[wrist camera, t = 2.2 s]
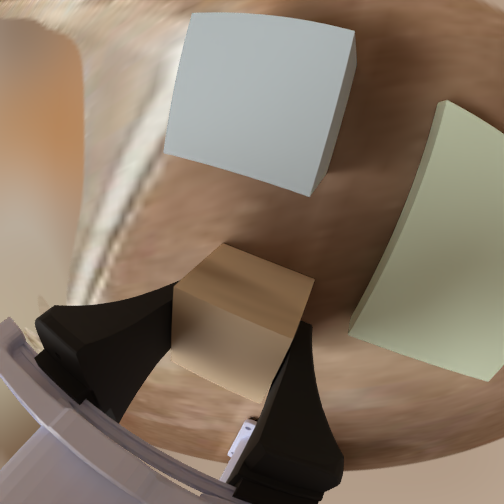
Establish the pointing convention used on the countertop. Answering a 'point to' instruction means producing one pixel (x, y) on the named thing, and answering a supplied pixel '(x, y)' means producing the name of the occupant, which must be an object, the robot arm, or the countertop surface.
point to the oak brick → (237, 319)
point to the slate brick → (262, 96)
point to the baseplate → (445, 255)
